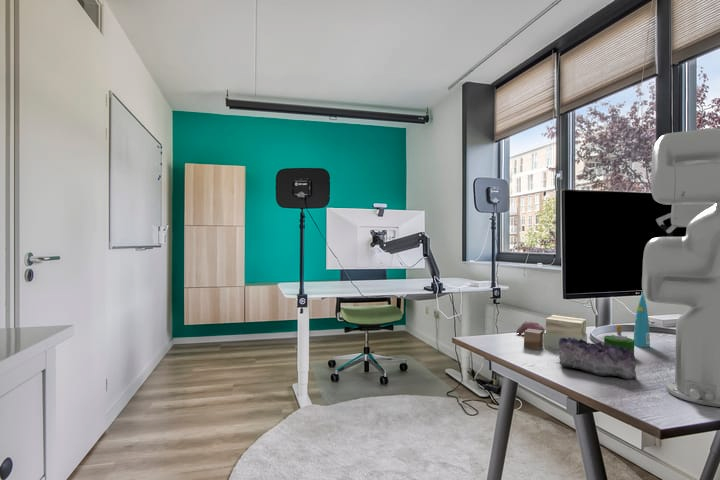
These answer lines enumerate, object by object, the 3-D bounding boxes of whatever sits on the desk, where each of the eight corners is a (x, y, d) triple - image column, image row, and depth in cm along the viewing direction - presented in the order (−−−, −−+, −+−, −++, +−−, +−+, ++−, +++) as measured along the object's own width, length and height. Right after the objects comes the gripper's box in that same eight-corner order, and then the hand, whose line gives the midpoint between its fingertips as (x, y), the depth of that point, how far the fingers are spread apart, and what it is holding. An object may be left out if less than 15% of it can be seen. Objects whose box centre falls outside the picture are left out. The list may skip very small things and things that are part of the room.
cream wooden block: (580, 338, 131) (580, 323, 131) (545, 332, 138) (546, 318, 138) (585, 333, 138) (586, 319, 138) (552, 328, 145) (552, 314, 145)
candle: (603, 350, 134) (604, 321, 134) (632, 354, 129) (633, 324, 129) (604, 356, 127) (604, 325, 126) (635, 360, 122) (635, 329, 122)
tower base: (581, 353, 130) (581, 338, 130) (543, 346, 138) (543, 332, 138) (586, 347, 138) (587, 333, 138) (550, 341, 146) (550, 327, 146)
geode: (637, 372, 112) (640, 339, 111) (634, 390, 103) (637, 354, 102) (560, 355, 125) (561, 325, 123) (551, 369, 116) (552, 338, 114)
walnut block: (539, 351, 132) (539, 333, 132) (523, 348, 135) (524, 331, 135) (542, 347, 136) (543, 330, 136) (528, 345, 139) (528, 328, 139)
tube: (632, 342, 144) (633, 290, 144) (648, 344, 142) (649, 291, 141) (634, 347, 138) (635, 293, 137) (651, 349, 135) (652, 294, 135)
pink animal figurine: (542, 344, 146) (548, 327, 147) (533, 339, 144) (540, 322, 145) (522, 337, 155) (528, 321, 156) (514, 333, 153) (520, 317, 154)
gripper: (656, 189, 116) (655, 246, 116) (736, 185, 105) (735, 248, 106) (656, 191, 122) (655, 245, 122) (732, 188, 111) (731, 247, 111)
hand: (692, 246), depth 114 cm, fingers open, 9 cm apart
